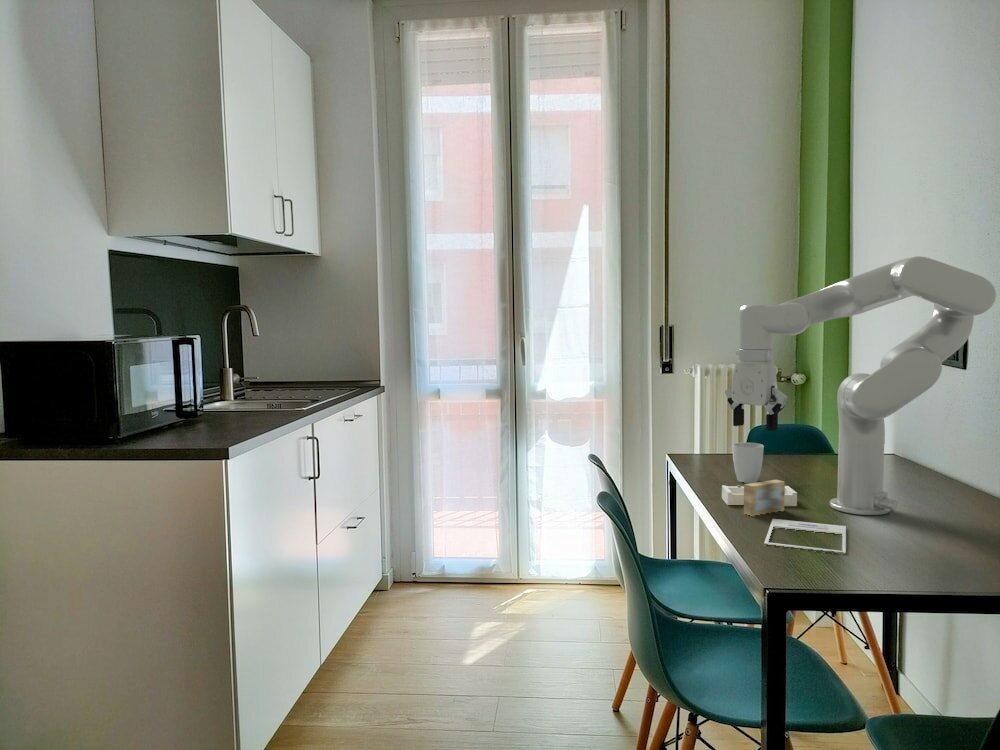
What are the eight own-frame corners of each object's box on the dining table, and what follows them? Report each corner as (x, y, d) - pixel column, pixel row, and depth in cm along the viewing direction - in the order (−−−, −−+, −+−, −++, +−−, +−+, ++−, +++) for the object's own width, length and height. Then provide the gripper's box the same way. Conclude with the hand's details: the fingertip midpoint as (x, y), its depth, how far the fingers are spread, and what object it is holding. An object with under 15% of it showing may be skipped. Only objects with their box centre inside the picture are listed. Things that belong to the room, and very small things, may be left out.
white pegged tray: (788, 498, 176) (788, 485, 175) (796, 506, 169) (797, 492, 168) (721, 498, 177) (721, 484, 177) (727, 505, 170) (727, 491, 170)
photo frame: (845, 525, 151) (845, 551, 135) (845, 530, 151) (845, 557, 135) (772, 517, 157) (764, 541, 141) (772, 522, 157) (764, 547, 141)
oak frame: (776, 508, 167) (776, 479, 167) (784, 511, 165) (785, 481, 164) (743, 514, 163) (744, 484, 163) (751, 517, 161) (752, 486, 160)
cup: (758, 477, 198) (759, 442, 197) (766, 484, 190) (767, 447, 189) (729, 477, 199) (729, 442, 198) (735, 484, 191) (736, 447, 190)
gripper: (716, 356, 174) (715, 425, 175) (775, 358, 159) (774, 434, 160) (737, 354, 177) (736, 422, 179) (797, 357, 163) (796, 431, 164)
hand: (754, 428), depth 169 cm, fingers open, 9 cm apart
